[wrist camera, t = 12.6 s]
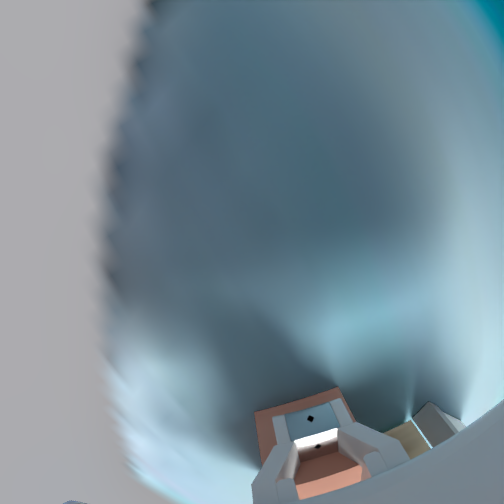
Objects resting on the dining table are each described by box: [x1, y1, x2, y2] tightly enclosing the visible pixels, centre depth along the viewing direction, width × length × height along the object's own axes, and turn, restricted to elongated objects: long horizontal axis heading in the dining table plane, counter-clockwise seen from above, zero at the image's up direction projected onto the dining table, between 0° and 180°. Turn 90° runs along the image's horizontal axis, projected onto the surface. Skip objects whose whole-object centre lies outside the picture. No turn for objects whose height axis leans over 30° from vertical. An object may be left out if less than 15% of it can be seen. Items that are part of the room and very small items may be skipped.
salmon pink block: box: [254, 387, 362, 500], centre depth 11 cm, size 4×4×5 cm
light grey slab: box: [412, 401, 466, 447], centre depth 11 cm, size 2×8×9 cm, turn 53°
